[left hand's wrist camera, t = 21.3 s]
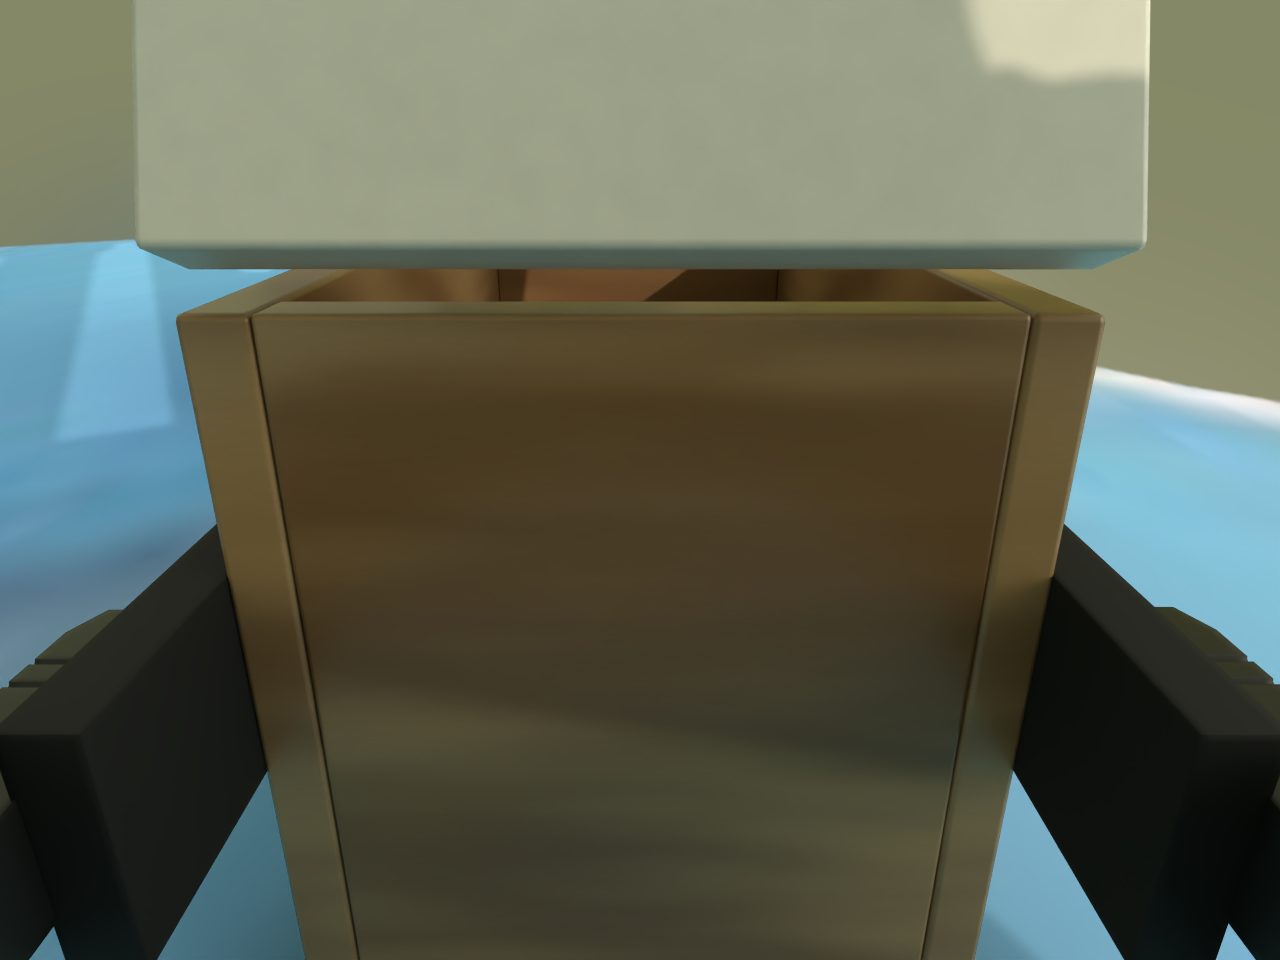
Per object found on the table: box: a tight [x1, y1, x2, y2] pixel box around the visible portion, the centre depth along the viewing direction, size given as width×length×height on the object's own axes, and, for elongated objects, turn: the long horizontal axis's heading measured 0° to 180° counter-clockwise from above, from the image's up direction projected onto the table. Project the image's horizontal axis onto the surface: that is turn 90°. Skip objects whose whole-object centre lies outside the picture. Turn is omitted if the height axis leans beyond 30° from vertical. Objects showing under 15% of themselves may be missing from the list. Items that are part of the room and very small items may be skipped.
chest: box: [176, 269, 1105, 960], centre depth 18 cm, size 16×9×10 cm, turn 0°
